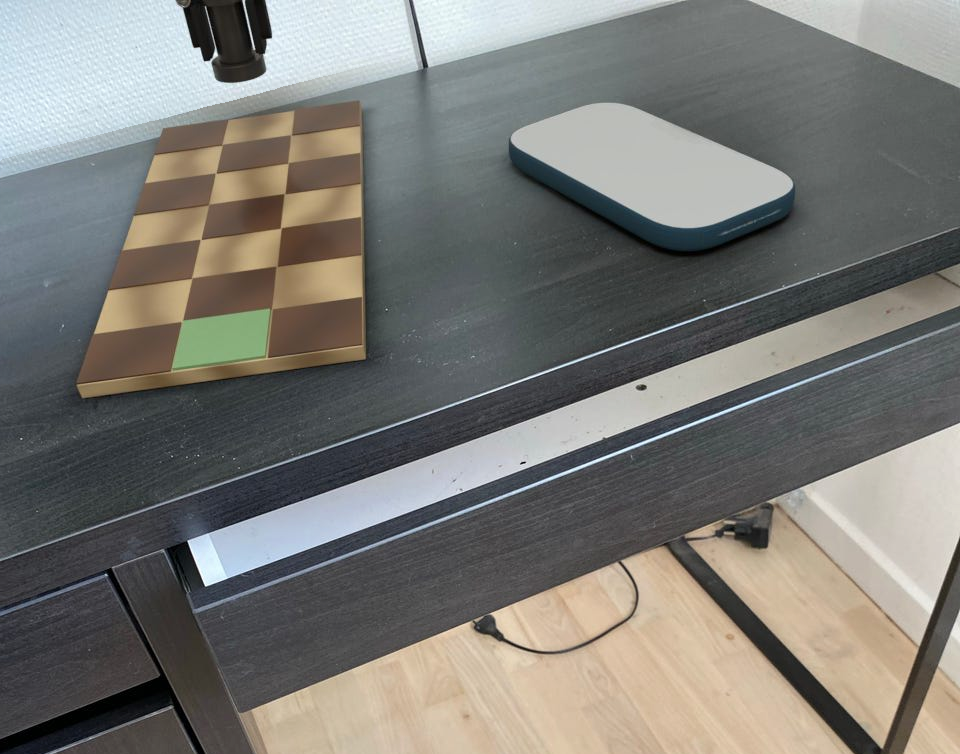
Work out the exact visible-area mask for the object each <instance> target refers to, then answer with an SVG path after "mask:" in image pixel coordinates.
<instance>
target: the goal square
mask: <svg viewBox="0 0 960 754" xmlns="http://www.w3.org/2000/svg"><path fill="white" fill-rule="evenodd" d="M270 314H271V310H270V309H264V310H256V311H249V312H242V313H235V314H228V315H220V316H213V317H206V318H199V319H192V320H184V321H183V323H182V328H181V332H180V336H179V341H178V345H177V350H176V354H175V358H174V363H173V367H172V369H173V371H175V370H183V369H190V368H197V367H204V366H211V365H219V364H226V363H233V362H240V361H248V360H255V359H262V358H266V350H267V341H268V332H269V323H270Z"/></svg>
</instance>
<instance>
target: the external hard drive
mask: <svg viewBox="0 0 960 754" xmlns="http://www.w3.org/2000/svg"><path fill="white" fill-rule="evenodd" d="M508 155H509V156H508V157H509V159H510V161H511V163H512V165H514V166H515V168H517V169H518V170H519V171H521V172H523V173H524V174H526V175H527V176H530V177H531V178H532V179H535V180H537V181H539V182H540V183H541V184H544V185H546V186H547V187H549V188H551V189H553V190H555V191H557V192H559V193H560V194H562V195H563V196H566V197H567V198H569V199H571V200H572V201H574V202H576V203H578V204H579V205H581V206H583V207H585V208H586V209H588V210H591V211H592V212H594V213H596V214H598V216H599V215H600V216H601V217H603V218H605V219H606V220H608V221H610V222H612V223H613V224H616V225H617V226H619V227H621V228H622V229H624V230H626V231H627V232H630V233H631V234H633V235H635V236H637V237H639V238H640V239H642V240H643V241H646V242H647V243H650V244H652V245H654V246H657V247H659V248H663V249H665V250H670V251H676V252H697V251H703V250H708V249H713V248H715V247H717V246H720V245H723V244H726V243H728V242H730V241H732V240H735V239H737V238H740V237H742V236H745V235H748V234H749V233H752V232H754V231H756V230H760V229H761V228H764V227H766V226H769V225H772V224H774V223H776V222H777V221H780V220H782V219H783V218H785V217H787V216H788V215H789V214H790V212H791V211H792V209H793V207H794V204H795V198H796V185H795V182H794V180H793V179H792V177H791V176H790V175H789V174H787V173H786V172H784V171H782V170H780V169H779V168H777V167H775V166H772V165H770V164H769V163H768V164H767V163H765V162H763V161H762V160H759V159H757V158H755V157H752V156H749V155H747V154H745V153H742V152H741V151H737V150H735V149H734V148H732V147H728V146H727V145H724V144H722V143H720V142H717V141H714V140H713V139H710V138H708V137H706V136H703V135H700V134H699V133H696V132H693V131H691V130H690V129H687V128H685V127H682V126H680V125H677V124H675V123H673V122H671V121H669V120H666V119H664V118H661V117H660V116H657V115H654V114H652V113H650V112H648V111H645V110H643V109H641V108H637V107H636V106H632V105H629V104H625V103H621V102H611V101H607V102H606V101H605V102H602V101H601V102H595V103H594V102H593V103H590V104H585V105H582V106H577V107H575V108H571V109H569V110H567V111H563V112H561V113H558V114H555V115H552V116H549V117H546V118H543V119H541V120H537V121H534V122H532V123H529V124H527V125H524V126H522V127H519V128H517V129H516V130H514V131H513V132H512V133H511V135H510V136H509V138H508Z"/></svg>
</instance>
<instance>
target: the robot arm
mask: <svg viewBox="0 0 960 754" xmlns="http://www.w3.org/2000/svg"><path fill="white" fill-rule="evenodd" d="M175 3H176V5H177V6H179V7H180V8H182V11H183V15H184V19H185V23H186V27H187V30H188V34H189V38H190V41H191V44H192V47H193V48H194V49H200V52H201V57H202V60H203V62H204V63H205V62H212V60H213V59H214V55H215V51H216V46H215V42H214V38H213V34H212V30H211V26H210V22H209V18H208V14H207V10H206V6H202V5H201V4H200V2H199V0H175ZM244 8H245V12H246V17H247V21H248V26H249V30H250V35H251V39H252V43H253V48H254V50H255V51H256V53H258V54H259V55H260V54H263V55H265V54H266V53H267V51H266V50H267V46H268V41H267V40H269V39H270V40H271V39H273V31H272V25H271V21H270V16H269V15H270V14H269V10H268V6H267V2H266V0H244Z"/></svg>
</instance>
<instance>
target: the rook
mask: <svg viewBox="0 0 960 754" xmlns="http://www.w3.org/2000/svg"><path fill="white" fill-rule="evenodd" d="M199 2H200V4H201V5H202V6H205V8H206V12H207V16H208V20H209V24H210V28H211V32H212V36H213V40H214V44H215V51H216V53H217V56H215V57H213V58H212V59H211V61H210V63H211V68H212V72H213V76H214V79H215V80H216V81H217V82H220V83H223V84H224V83H225V84H237V83H245V82H248V81H253V80H255V79H257V78H260V77H262V76H263V75H265V73H266V72H267V65H266V61H265V56H264V55H265V54H260V55H259V54H258V53H256V51H255V48H254V44H253V39H252V35H251V30H250V26H249V21H248V17H247V13H246V8H245V4H244V0H199Z"/></svg>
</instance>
